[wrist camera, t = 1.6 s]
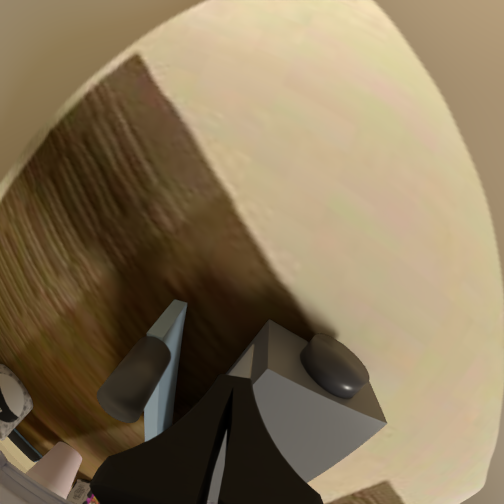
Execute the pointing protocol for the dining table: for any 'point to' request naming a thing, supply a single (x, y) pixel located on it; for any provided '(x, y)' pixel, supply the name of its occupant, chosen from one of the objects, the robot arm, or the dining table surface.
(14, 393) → the mug
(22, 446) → the smartphone
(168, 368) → the side door
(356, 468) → the dining table surface
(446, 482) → the dining table surface
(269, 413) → the camera housing
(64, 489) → the smoothie
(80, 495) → the candy bar box
